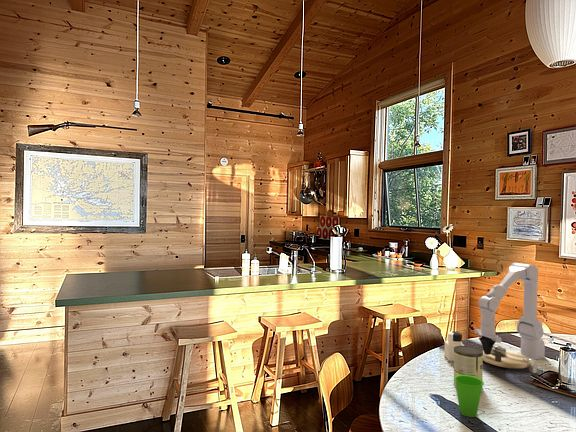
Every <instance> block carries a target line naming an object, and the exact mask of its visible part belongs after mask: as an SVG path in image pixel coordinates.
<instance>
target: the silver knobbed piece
mask: <svg viewBox="0 0 576 432" xmlns="http://www.w3.org/2000/svg"><path fill="white" fill-rule="evenodd" d="M522 360H524V361H526V362H527V365H528V366H529V367H528V372H530V373H532V374H536V373H538V360H537V359H527V360H525V359H522Z"/></svg>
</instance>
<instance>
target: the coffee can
mask: <svg viewBox="0 0 576 432" xmlns="http://www.w3.org/2000/svg"><path fill="white" fill-rule="evenodd" d="M483 365H484V363H483V350H482V349H481V348H479V347H475V346H470V345H464V346H456V347H454V361H453V378H454V377H455V376H457V375H470V376H474V377H477V378H480V379H481V380H483V372H484V369H483V368H484V367H483ZM453 386H454V387H455V388H456V381H455V380H454V379H453ZM482 390H483V387H482Z"/></svg>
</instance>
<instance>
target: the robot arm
mask: <svg viewBox="0 0 576 432" xmlns="http://www.w3.org/2000/svg"><path fill="white" fill-rule="evenodd" d="M517 280H521V282H523V306H522V307H523V308H522V309H523V310H522V311H523V312H522V313H523V315H522V316H521V317H519V318H518V323H517V325H516V331H517V333H518V334H519V336H520V352H518V353H519V354H521V355H524V356H526V357H528V358H529V359H534V360H543V359H547V358H546V356H545V353H546V352H545V351H546V350H545V348H546V346H545V341H544V339H543V338H542V337H543V336H544V334H545V333H544V332H545V331H544V328H543V322H542V321H541V320H540V319H539V318H538V317H537V316H538V315H537V313H538V312H537V310H538V285H539V284H538V281H539V269H538V267H536V265H534V264H529V263H528V264H527V263H521V262H513V263H512V264H511V265H510V266H509V267H508V272H507V273H506V275H505V276H504V278H503V279H502V280H501V282H500V283H499V284H494V285H493V286H492V288H491V289H490V290H489V291H488V292H487V293H486V294H485V295H483V296H481V297H479V299H478V302H477V305H478V307H479V311H480V329H479V328H477V329H476V328H475V329H474V334H475V335H478V336H480V337H478V339H479V341H480V344H481V345H482V346H481V347H482V349H483V350H484V354H486V355H490V353H491V350H492V347H493V346H494V345H495V344H498V343H499V344H500V343H502V338H501V337H500V336H499V335H497V334H496V310H498V309H499V306H500V304H501V300H503V298H504V297H505V296H506V295H507V289H509V288H510V287H511V286H512V285H514V283H515V282H516V281H517ZM483 350H482V351H483Z"/></svg>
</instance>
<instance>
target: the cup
mask: <svg viewBox="0 0 576 432" xmlns="http://www.w3.org/2000/svg"><path fill="white" fill-rule="evenodd" d="M454 380H455V381H456V387H455V389H456V393H457V395H456V396H457V400H458V401H457V402H458V408H459V413H460V414H461V415H462V416H465V417H470V418H475V417H476V416H477V414H478V411H479V406H480V401H481V396H482V390H483V389H482V388H483V386H484V385H485V382H484V380H483V379H482V380H481V379H480V378H477V377H474V376H470V375H457V376H455V377H454V376H453V381H454Z"/></svg>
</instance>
